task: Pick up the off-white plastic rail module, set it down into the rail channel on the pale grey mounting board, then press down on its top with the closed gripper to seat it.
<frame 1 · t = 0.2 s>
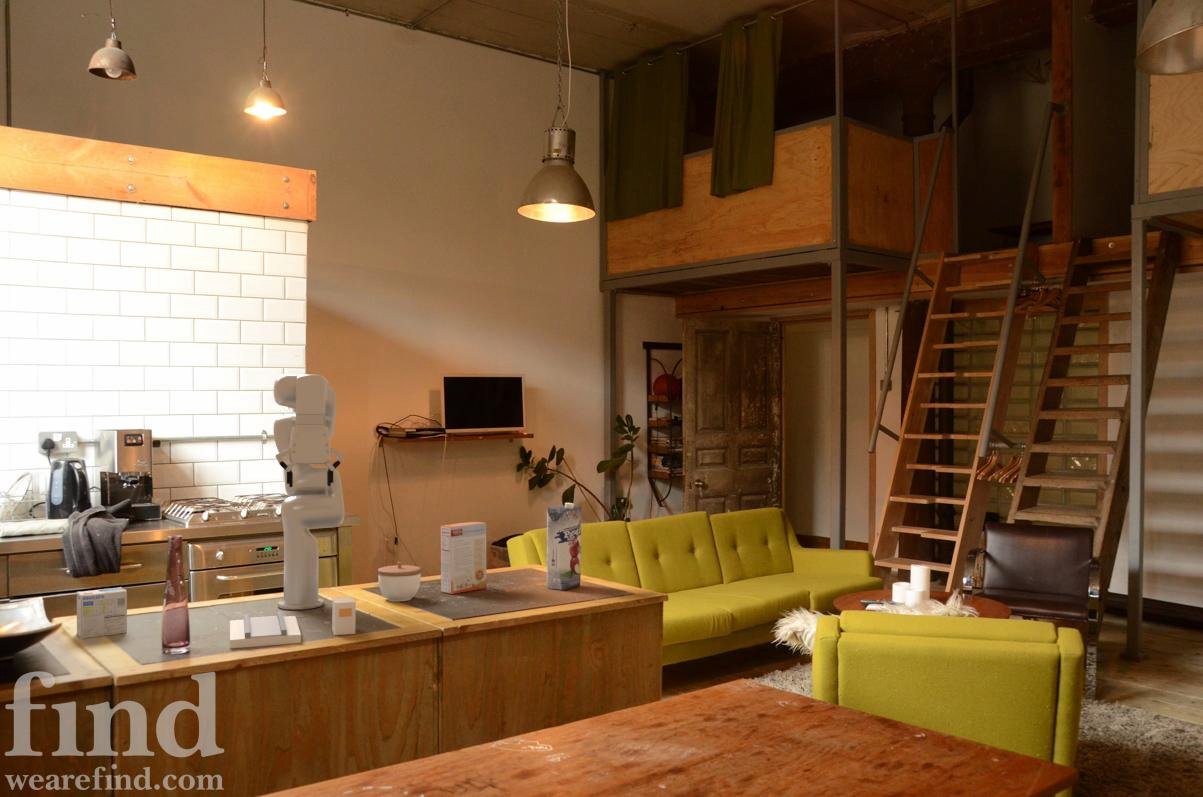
hand: (310, 486, 251), 36 cm above the table, fingers open, 9 cm apart
lidded bowl: (399, 599, 284), on the table
rail module: (343, 631, 243), on the table
light bulb box: (101, 634, 239), on the table
juice carton: (563, 588, 304), on the table
cracker box: (463, 591, 298), on the table
rail board: (264, 635, 238), on the table
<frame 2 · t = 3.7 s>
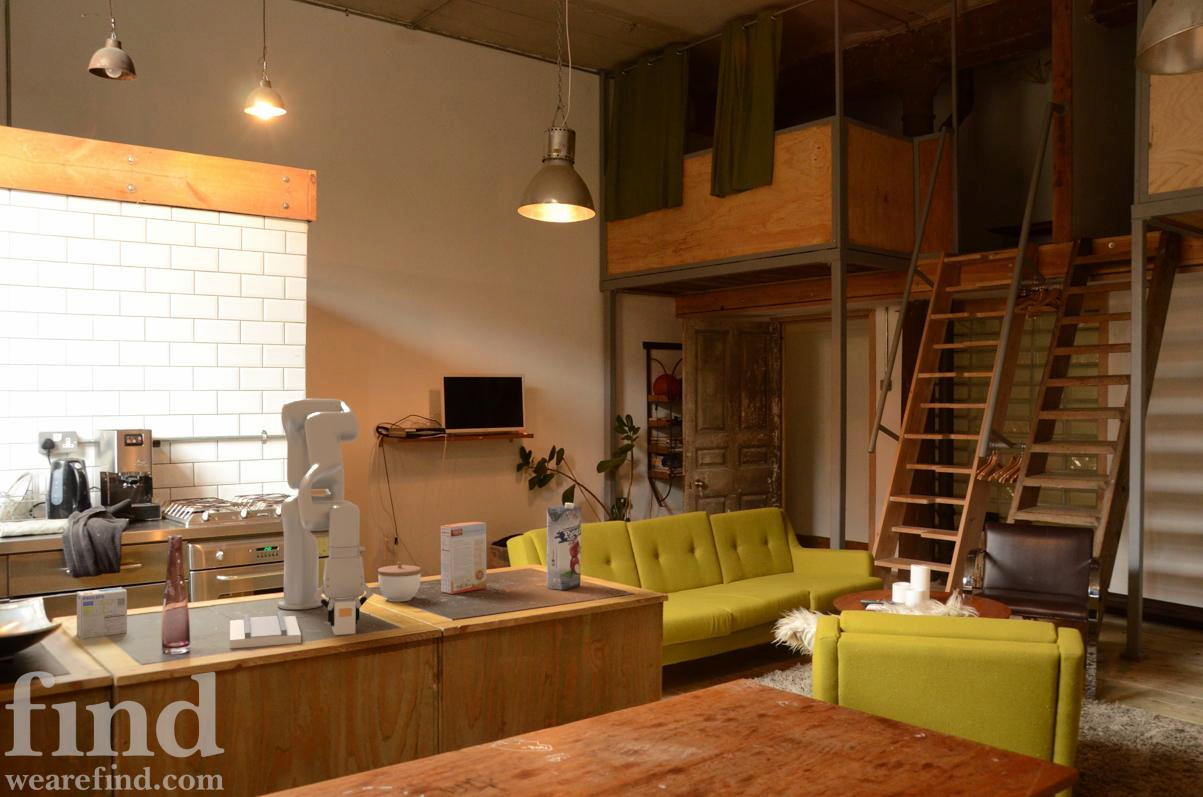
hand: (343, 623, 243), 2 cm above the table, fingers closed on rail module, 5 cm apart
rail module: (343, 631, 243), on the table, touching gripper
everything else where it was.
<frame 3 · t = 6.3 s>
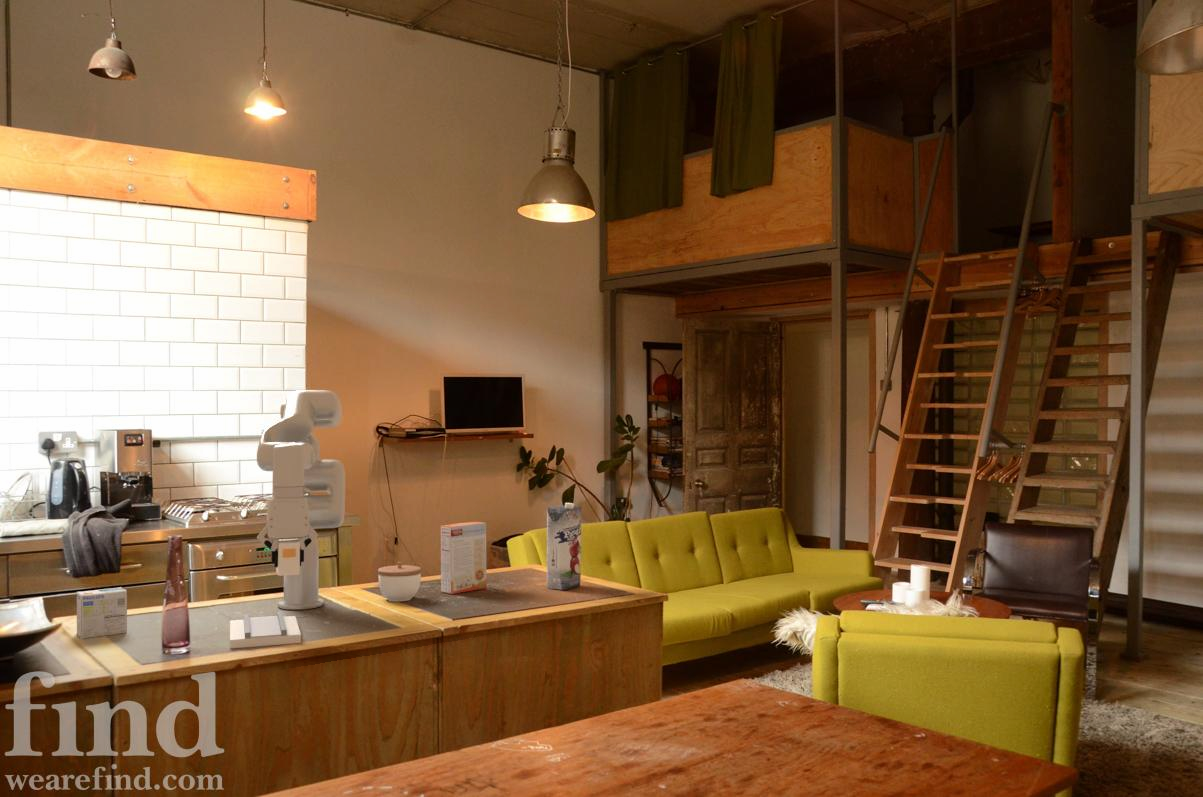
hand: (287, 565, 240), 17 cm above the table, fingers closed on rail module, 5 cm apart
rail module: (287, 572, 240), point 15 cm above the table, touching gripper
everything else where it was.
when the fingers open (6 cm above the table, at t = 9.3 s): rail module drops 2 cm, resting on rail board.
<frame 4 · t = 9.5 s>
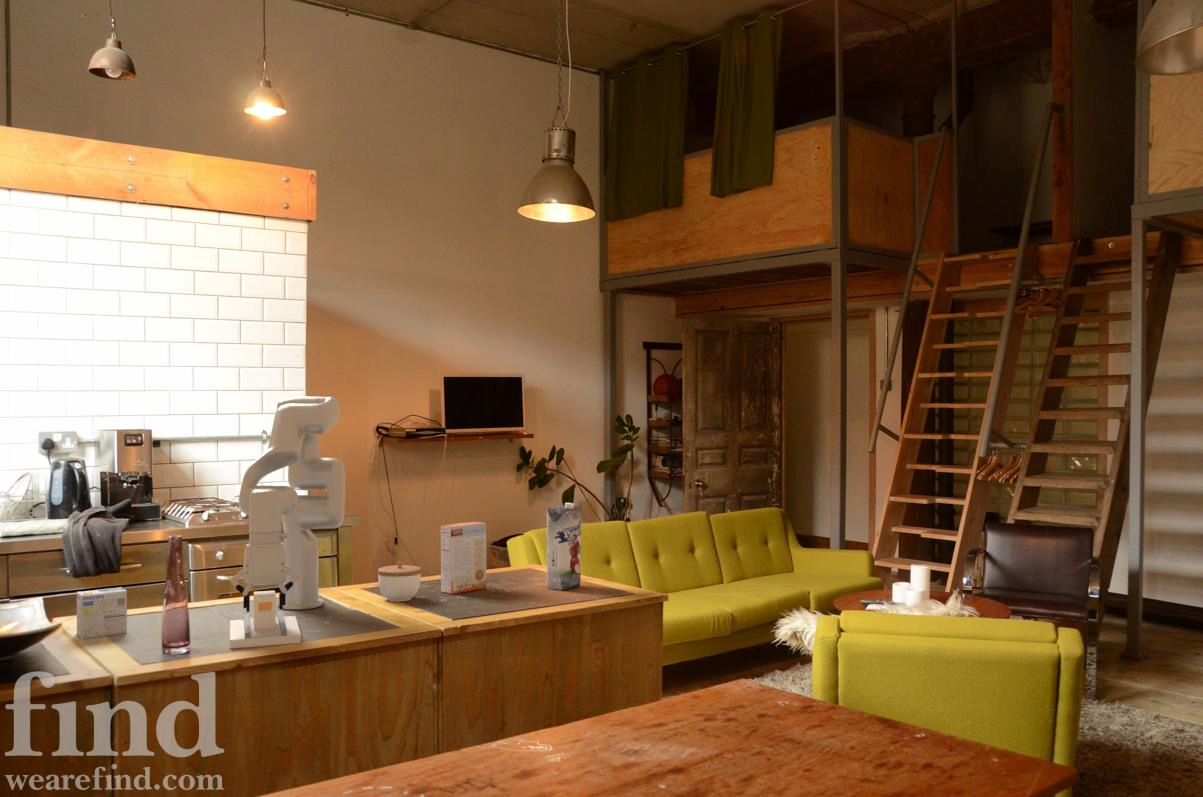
hand: (264, 609, 238), 6 cm above the table, fingers open, 7 cm apart
rail module: (264, 625, 238), point 2 cm above the table, touching rail board
everything else where it was.
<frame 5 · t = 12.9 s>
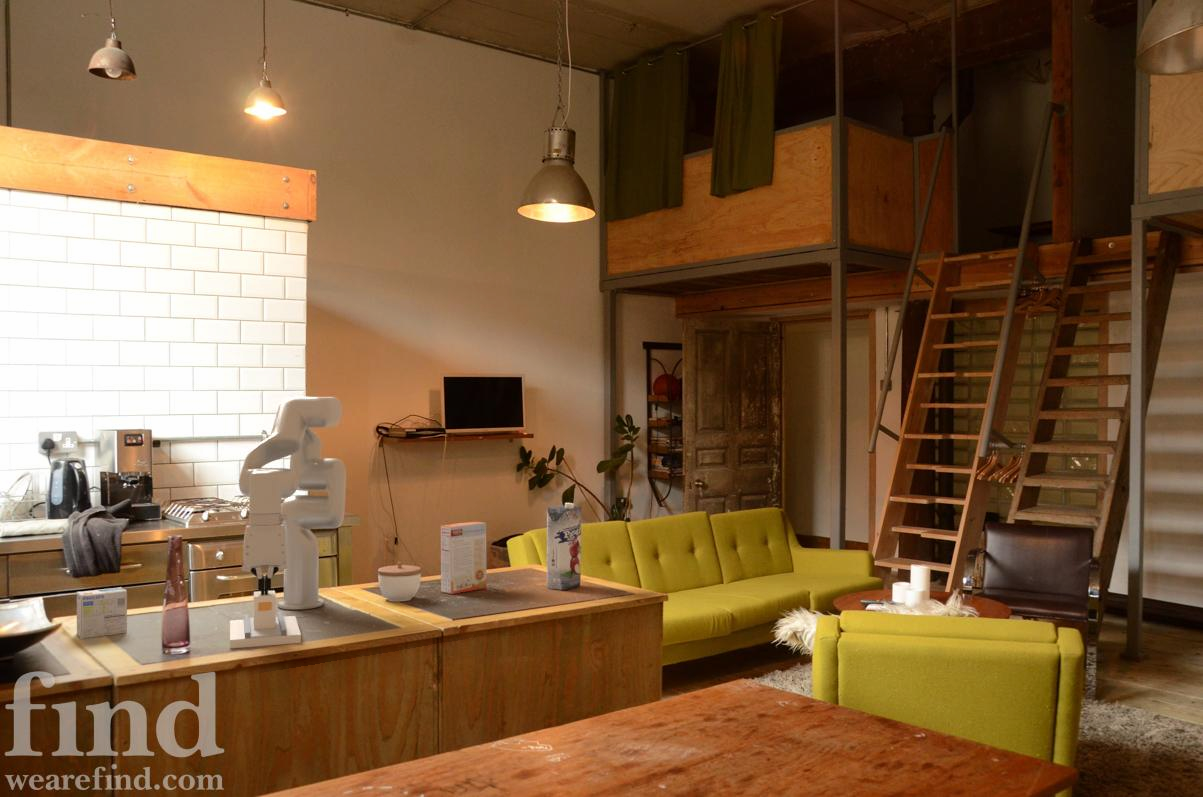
hand: (264, 593, 238), 10 cm above the table, fingers closed
rail module: (264, 625, 238), point 2 cm above the table, touching gripper, rail board
everything else where it was.
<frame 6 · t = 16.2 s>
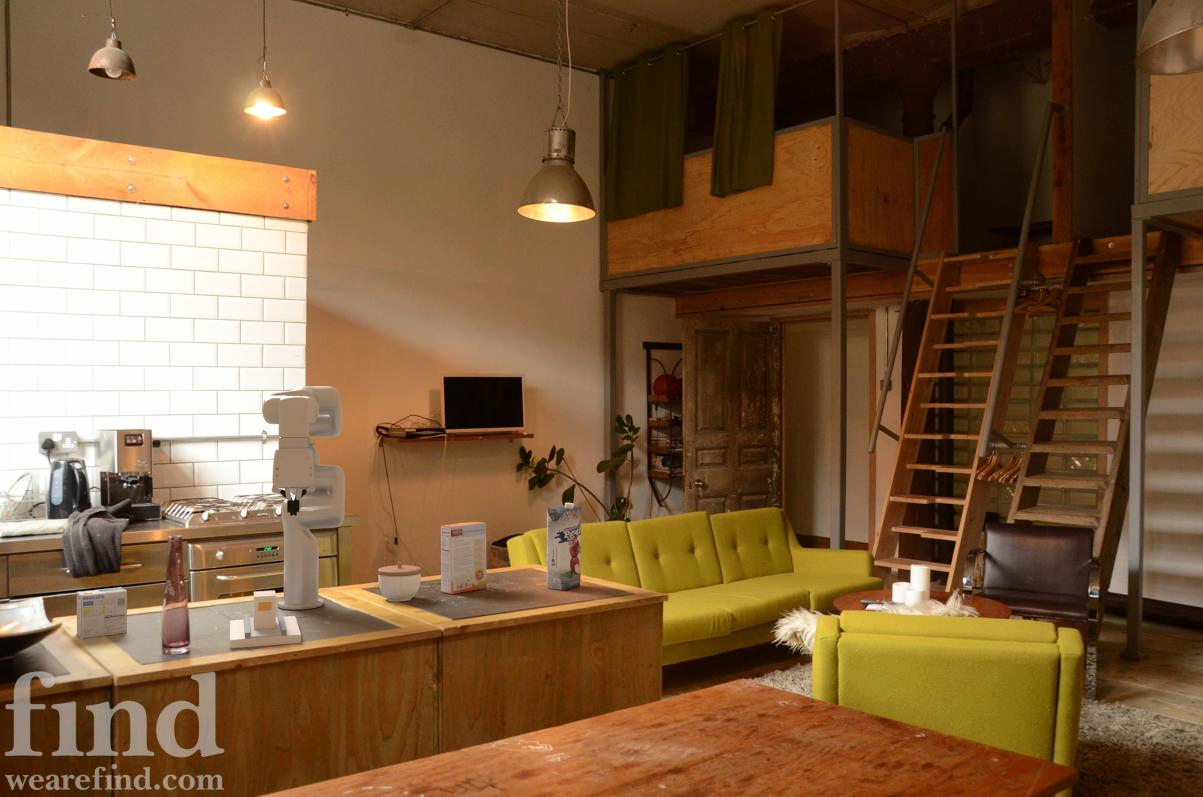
hand: (293, 515, 247), 29 cm above the table, fingers closed
rail module: (264, 625, 238), point 2 cm above the table, touching rail board
everything else where it was.
at the end: rail module inside the target area on the rail board (0.0 cm from its centre), point 2.4 cm above the rail board's base; rail module tilted 0°; the gripper is holding nothing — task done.
